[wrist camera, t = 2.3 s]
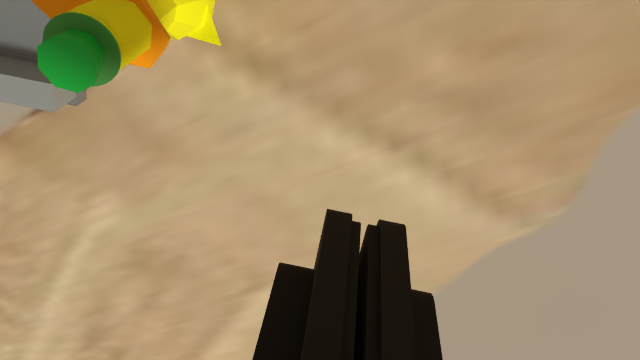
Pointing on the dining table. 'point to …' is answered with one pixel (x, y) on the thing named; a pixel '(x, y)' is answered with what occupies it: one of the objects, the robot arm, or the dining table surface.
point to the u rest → (27, 60)
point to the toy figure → (114, 36)
